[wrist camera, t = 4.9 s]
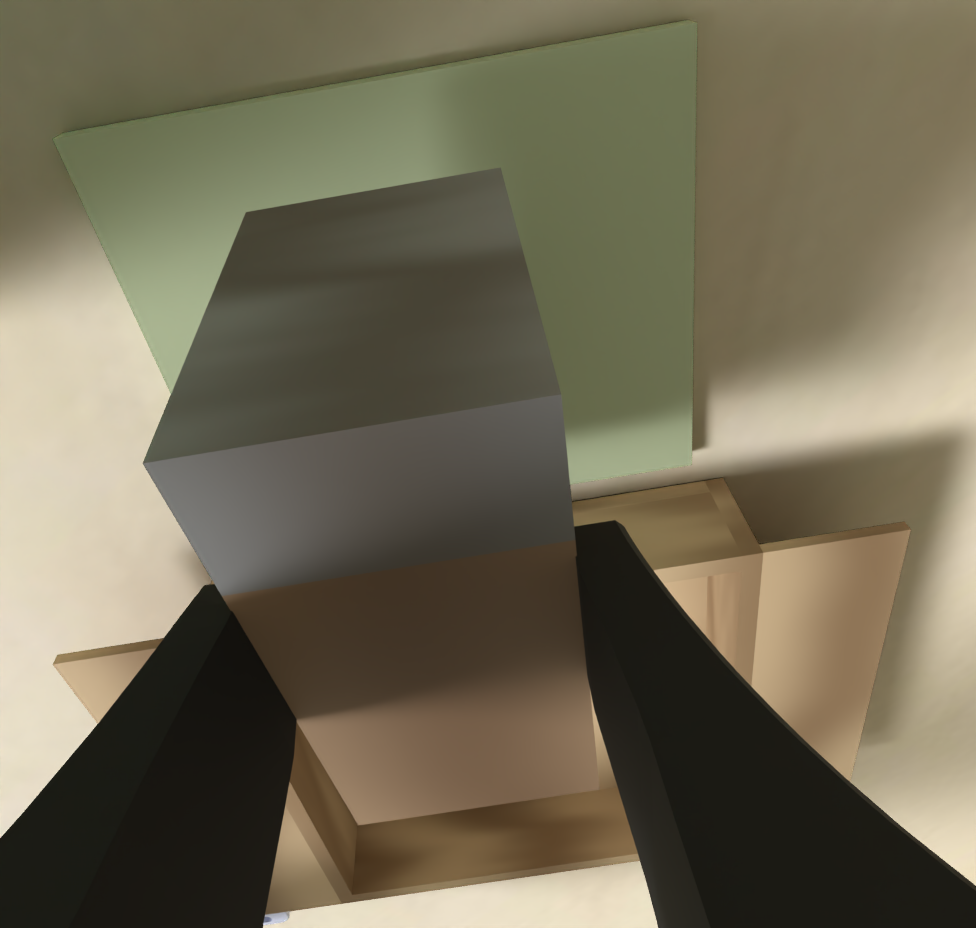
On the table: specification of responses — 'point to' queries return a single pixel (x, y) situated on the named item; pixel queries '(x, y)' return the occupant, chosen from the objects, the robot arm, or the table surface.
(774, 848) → the robot arm
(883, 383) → the table surface
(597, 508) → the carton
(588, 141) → the olive mat
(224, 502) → the brown rectangular block
